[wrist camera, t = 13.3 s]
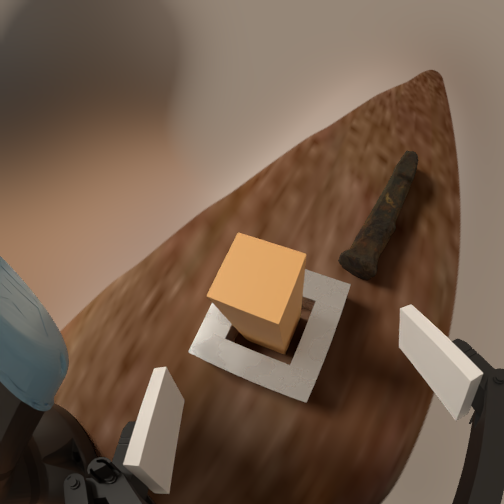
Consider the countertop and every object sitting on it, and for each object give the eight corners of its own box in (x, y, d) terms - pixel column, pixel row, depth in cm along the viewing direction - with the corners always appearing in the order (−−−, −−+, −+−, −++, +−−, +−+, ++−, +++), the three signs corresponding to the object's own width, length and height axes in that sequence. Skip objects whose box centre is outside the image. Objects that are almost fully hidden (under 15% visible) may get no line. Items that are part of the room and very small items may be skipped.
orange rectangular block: (246, 340, 27) (206, 296, 15) (262, 303, 29) (238, 232, 16) (285, 355, 26) (278, 324, 14) (300, 317, 27) (306, 254, 15)
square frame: (200, 356, 27) (188, 352, 24) (245, 262, 31) (239, 247, 28) (304, 400, 24) (306, 402, 21) (344, 296, 28) (350, 284, 25)
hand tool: (366, 287, 28) (378, 270, 24) (335, 267, 30) (342, 246, 25) (424, 178, 33) (435, 155, 29) (400, 164, 35) (408, 140, 31)
